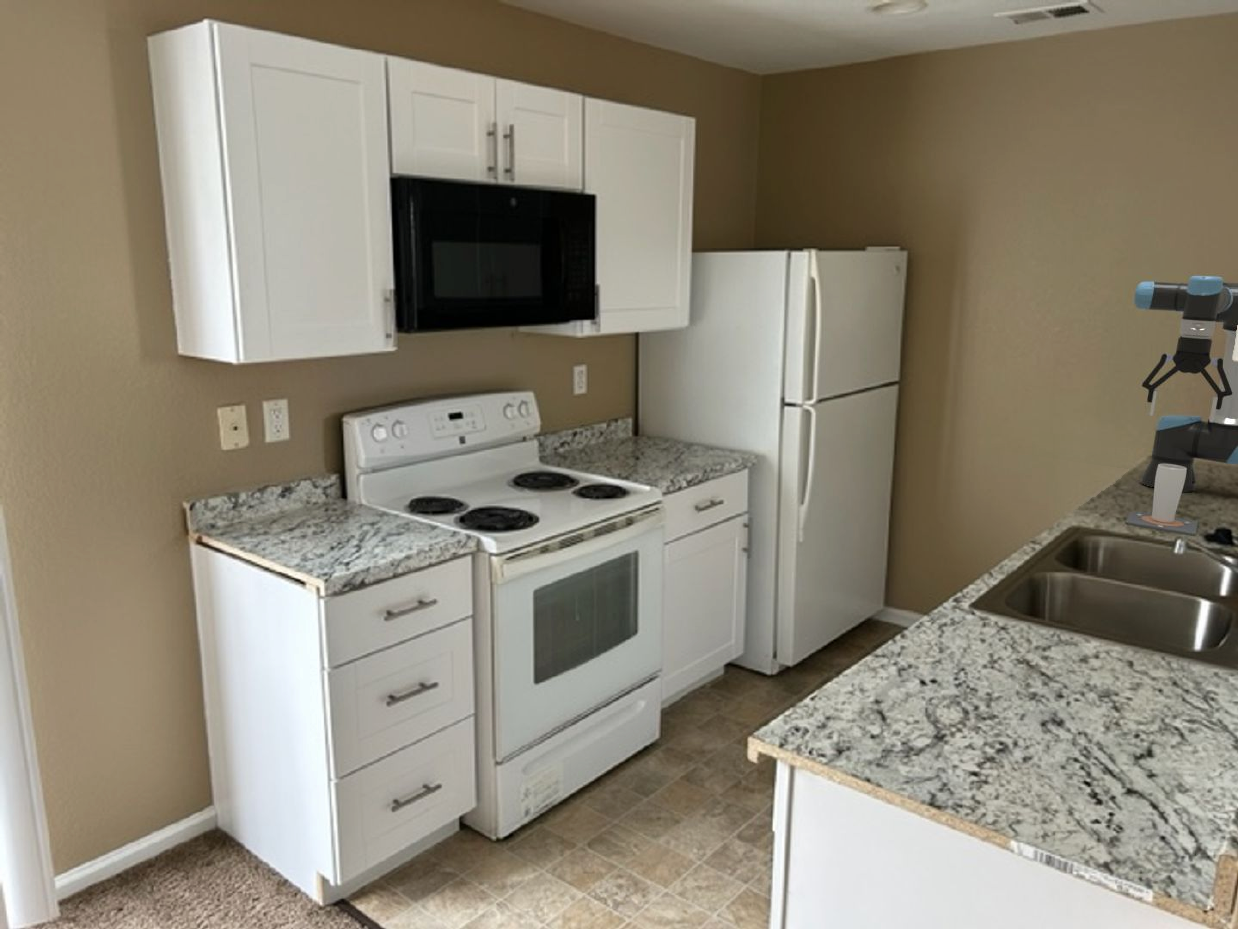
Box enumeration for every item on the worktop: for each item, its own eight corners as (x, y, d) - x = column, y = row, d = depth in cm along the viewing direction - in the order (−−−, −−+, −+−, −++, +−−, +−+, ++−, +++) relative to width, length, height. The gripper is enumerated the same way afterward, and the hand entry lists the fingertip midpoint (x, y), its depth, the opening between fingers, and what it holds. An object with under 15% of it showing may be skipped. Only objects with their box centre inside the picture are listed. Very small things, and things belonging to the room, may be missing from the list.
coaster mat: (1131, 512, 260) (1131, 509, 260) (1197, 523, 251) (1198, 520, 251) (1125, 524, 247) (1125, 521, 246) (1195, 536, 238) (1195, 533, 238)
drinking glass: (1169, 518, 252) (1179, 464, 248) (1181, 525, 245) (1192, 470, 242) (1143, 516, 252) (1153, 462, 249) (1154, 523, 246) (1165, 468, 242)
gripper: (1140, 333, 241) (1126, 414, 246) (1254, 341, 230) (1238, 426, 234) (1140, 332, 248) (1127, 410, 253) (1251, 340, 236) (1235, 422, 241)
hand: (1180, 418), depth 243 cm, fingers open, 13 cm apart
